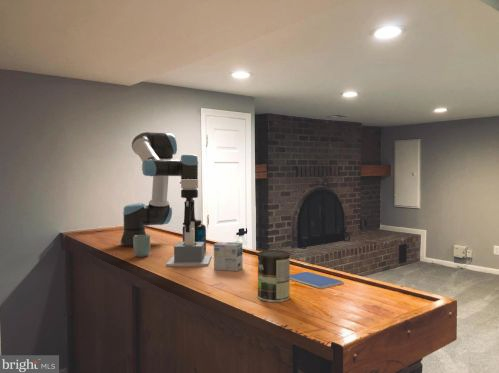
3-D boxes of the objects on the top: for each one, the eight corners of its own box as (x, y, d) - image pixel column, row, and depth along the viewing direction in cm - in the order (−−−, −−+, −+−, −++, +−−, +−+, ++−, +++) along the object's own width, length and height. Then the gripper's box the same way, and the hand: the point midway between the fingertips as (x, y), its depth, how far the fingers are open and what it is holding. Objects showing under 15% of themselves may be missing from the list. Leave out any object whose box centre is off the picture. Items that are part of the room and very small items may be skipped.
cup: (145, 258, 183) (145, 237, 183) (130, 257, 185) (130, 236, 184) (153, 255, 191) (152, 234, 190) (138, 254, 192) (138, 234, 192)
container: (178, 252, 196) (178, 221, 195) (190, 249, 207) (190, 218, 206) (198, 254, 191) (198, 222, 191) (210, 250, 202) (210, 219, 202)
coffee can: (259, 303, 117) (259, 256, 117) (256, 293, 127) (256, 250, 127) (293, 302, 118) (293, 256, 117) (286, 292, 128) (286, 249, 128)
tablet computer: (283, 278, 147) (283, 275, 147) (307, 274, 154) (307, 270, 154) (320, 290, 131) (320, 287, 131) (344, 284, 139) (344, 281, 139)
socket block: (173, 257, 184) (173, 241, 184) (211, 257, 184) (211, 240, 184) (165, 266, 166) (165, 247, 166) (207, 266, 166) (207, 247, 166)
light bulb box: (243, 268, 163) (243, 242, 162) (237, 271, 156) (237, 245, 156) (219, 266, 166) (219, 241, 166) (213, 269, 160) (213, 243, 160)
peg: (186, 258, 177) (185, 228, 177) (194, 258, 177) (194, 228, 177) (184, 260, 173) (184, 229, 173) (193, 260, 173) (193, 229, 173)
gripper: (185, 188, 186) (185, 233, 186) (176, 189, 162) (176, 241, 163) (200, 188, 186) (200, 233, 186) (194, 189, 163) (194, 241, 163)
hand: (189, 237), depth 175 cm, fingers open, 11 cm apart
